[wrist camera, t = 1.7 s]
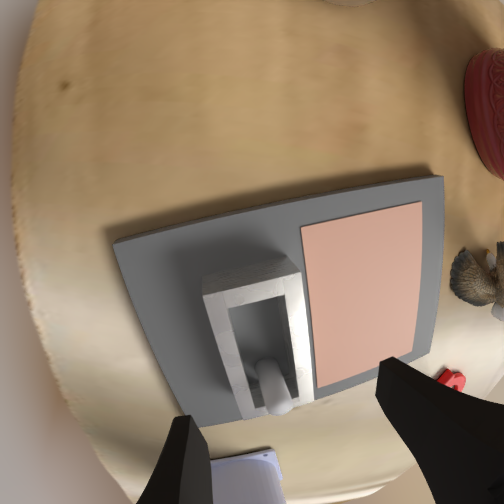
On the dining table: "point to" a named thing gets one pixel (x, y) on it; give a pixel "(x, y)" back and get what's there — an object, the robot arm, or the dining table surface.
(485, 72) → the canister
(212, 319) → the c link
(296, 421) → the dining table surface
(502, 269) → the eagle figurine
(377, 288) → the post board
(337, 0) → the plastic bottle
